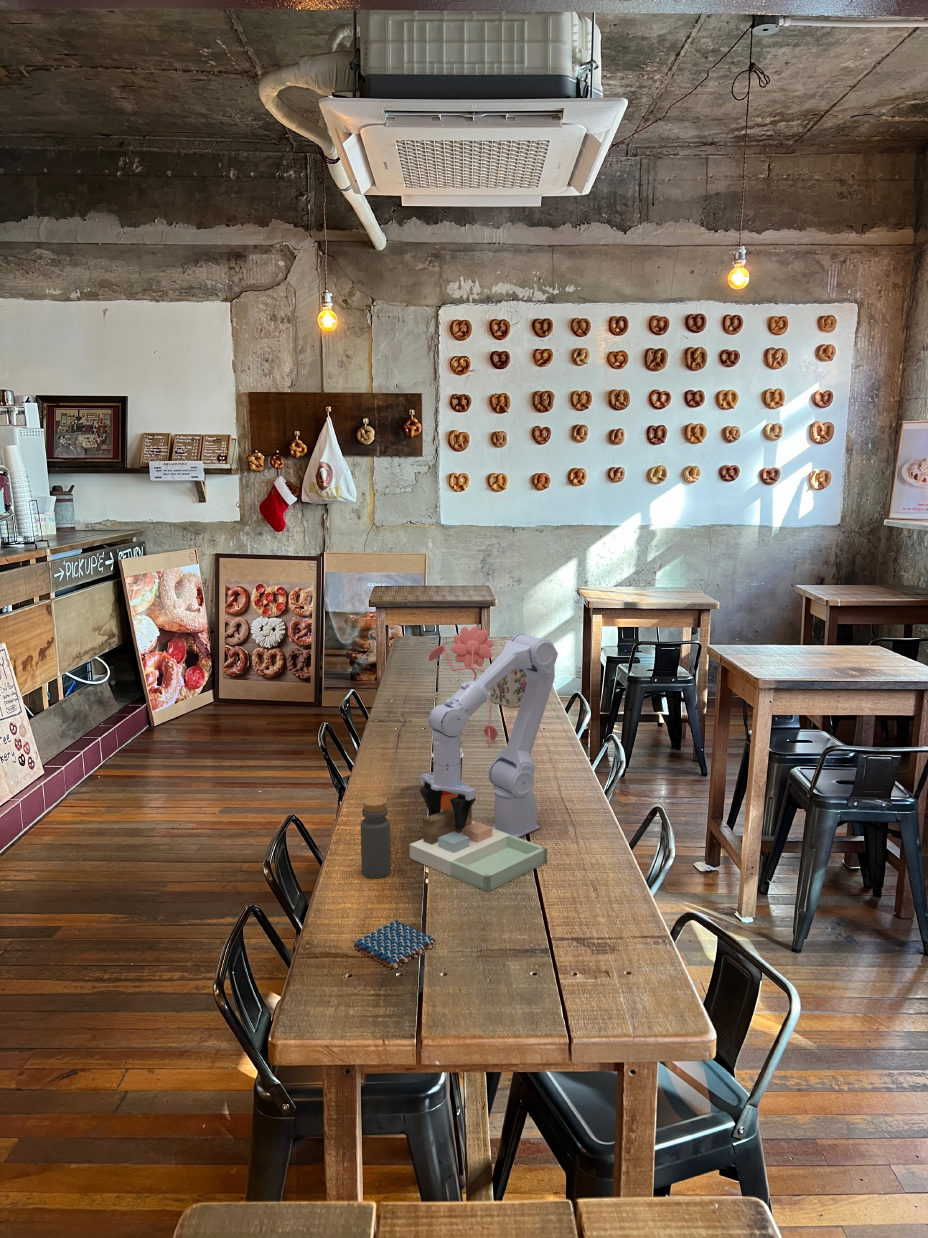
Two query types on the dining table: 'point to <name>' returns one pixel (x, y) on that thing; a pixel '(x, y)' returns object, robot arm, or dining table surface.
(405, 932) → the woven mat
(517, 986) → the dining table surface
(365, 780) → the dining table surface
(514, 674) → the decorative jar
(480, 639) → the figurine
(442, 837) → the tile
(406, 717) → the dining table surface
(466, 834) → the tile
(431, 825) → the bar
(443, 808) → the paper cup
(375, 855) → the bottle
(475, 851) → the bench
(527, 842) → the tray
